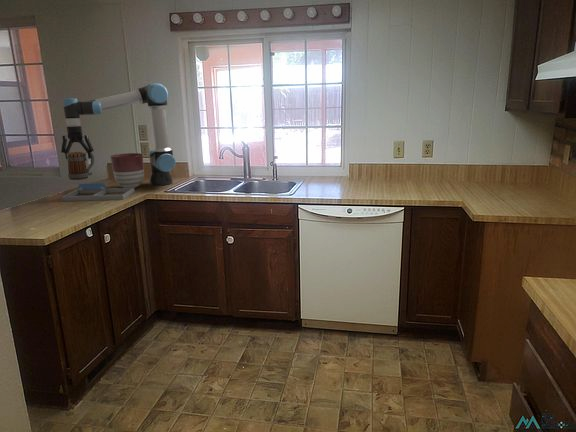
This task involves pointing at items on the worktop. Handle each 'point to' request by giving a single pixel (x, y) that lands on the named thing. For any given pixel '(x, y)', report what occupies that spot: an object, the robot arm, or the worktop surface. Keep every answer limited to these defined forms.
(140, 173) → the planter
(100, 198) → the grey tray
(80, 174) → the mug
